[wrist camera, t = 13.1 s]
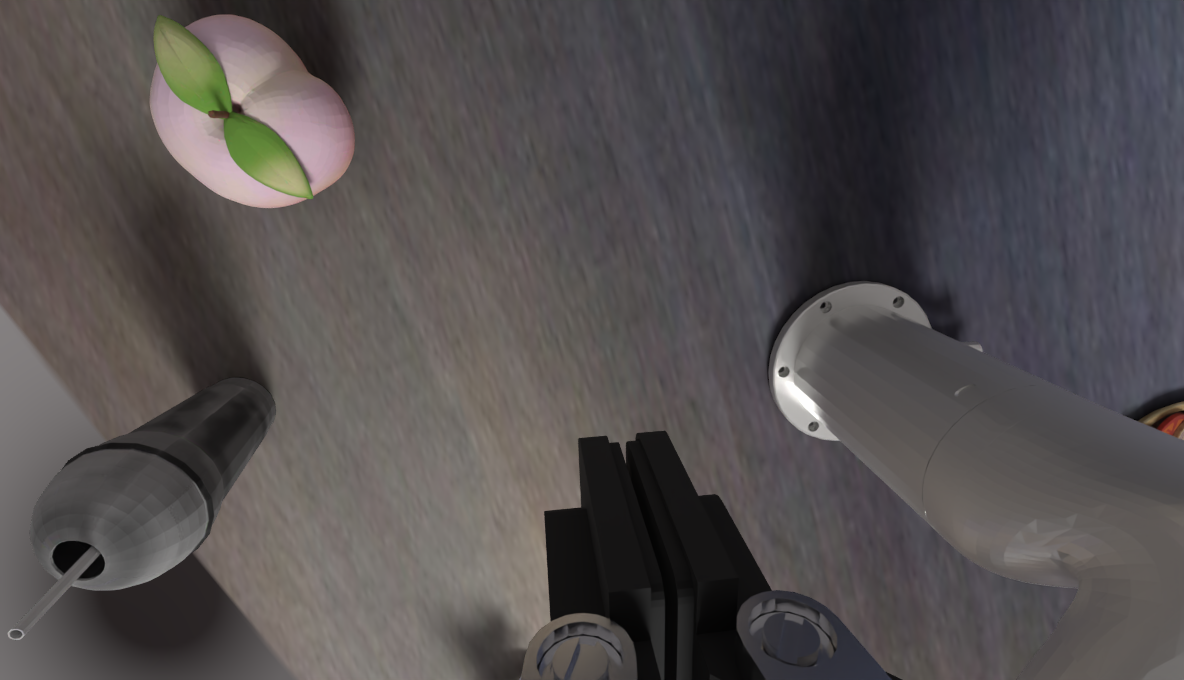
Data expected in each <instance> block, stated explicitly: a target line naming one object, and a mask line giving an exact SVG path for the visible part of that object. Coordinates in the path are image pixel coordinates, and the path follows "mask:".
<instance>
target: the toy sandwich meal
mask: <svg viewBox="0 0 1184 680" xmlns="http://www.w3.org/2000/svg"><path fill="white" fill-rule="evenodd" d="M1138 422H1140V423H1143V424H1145V425H1148V426H1150V427H1152V428H1155V429H1157V430H1160V431H1162V432H1164V433H1167V434H1169V435H1172V436H1174V437H1177V438H1179V439H1182V440H1184V401H1183V402H1179V403H1175V404H1172V405H1169V406H1166V407H1163V408H1160V409H1158V410H1156V411H1153V412H1152V413H1150V414H1148V415H1146V416H1145V417H1143V418H1141V419H1140V420H1139V421H1138Z"/></svg>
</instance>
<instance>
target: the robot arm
mask: <svg viewBox="0 0 1184 680" xmlns="http://www.w3.org/2000/svg"><path fill="white" fill-rule="evenodd" d="M822 303H823V304H822ZM821 304H822V306H821ZM820 306H821V307H820ZM780 368H781V369H780ZM779 369H780V370H779ZM768 374H769V386H770V390H771V393H772V397H773V400H774V401H775V403H776V405H777V407H778V409H779V410H780V412H781V413H782V414H783V415H784V416H785V417H786V418H787V420H788V421H789V422H791V423H792V424H793V425H794V426H795V427H796V428H797V429H799V430H800V431H802V432H804V433H806V434H807V435H810V436H813V437H816V438H820V439H823V440H833V441H841V442H842V443H843V444H844V445H845V446H846V447H847V448H848V449H850V450H851V451H852V452H853V453H854V454H855V455H856V456H857V457H858V458H859V459H860V460H861V461H862V462H863V463H864V464H866V465H867V466H868V467H869V468H870V469H871V470H872V471H873V472H874V473H875V474H876V475H877V476H878V477H879V478H880V479H881V480H883V481H884V482H885V483H886V484H887V485H888V486H889V487H890V488H891V489H892V490H893V491H894V492H895V493H896V494H897V495H899V496H900V497H901V498H902V499H903V500H904V501H905V502H906V503H907V504H908V505H909V506H910V507H911V508H912V509H913V510H915V511H916V512H917V513H918V514H919V515H920V516H921V517H922V518H923V519H924V520H925V521H926V522H927V523H928V524H929V525H931V526H932V527H933V528H934V529H935V530H936V531H937V532H938V533H939V534H940V535H941V536H942V537H943V538H944V539H945V540H946V541H947V542H948V543H949V544H951V545H952V546H953V547H954V548H955V549H956V550H957V551H958V552H960V553H961V554H962V555H964V556H965V557H966V558H968V559H969V560H971V561H972V562H974V563H976V564H977V565H979V566H981V567H983V568H985V569H987V570H989V571H991V572H994V573H996V574H998V575H1001V576H1004V577H1007V578H1011V579H1015V580H1019V581H1023V582H1027V583H1033V584H1040V585H1047V586H1055V587H1066V588H1078V592H1077V594H1076V597H1075V599H1074V600H1073V602H1072V603H1071V605H1070V606H1069V608H1068V609H1067V611H1066V612H1065V614H1064V615H1063V616H1062V618H1061V619H1060V620H1059V622H1058V625H1057V627H1056V629H1055V630H1054V631H1053V633H1052V634H1051V635H1050V636H1049V638H1048V639H1047V640H1046V642H1045V643H1044V644H1043V645H1042V647H1041V648H1040V649H1039V651H1038V652H1037V653H1036V654H1035V656H1034V657H1033V658H1032V659H1031V661H1030V662H1029V663H1028V665H1027V666H1026V667H1025V668H1024V670H1023V671H1022V672H1021V674H1020V675H1019V676H1018V677H1017V679H1016V680H1184V440H1182V439H1179V438H1177V437H1174V436H1172V435H1169V434H1167V433H1164V432H1162V431H1160V430H1157V429H1155V428H1152V427H1150V426H1148V425H1145V424H1143V423H1140V422H1138V421H1136V420H1133V419H1131V418H1128V417H1126V416H1124V415H1121V414H1119V413H1116V412H1114V411H1112V410H1109V409H1107V408H1105V407H1103V406H1100V405H1098V404H1096V403H1094V402H1091V401H1089V400H1087V399H1085V398H1082V397H1080V396H1078V395H1076V394H1074V393H1071V392H1069V391H1067V390H1065V389H1063V388H1060V387H1058V386H1056V385H1054V384H1052V383H1049V382H1047V381H1045V380H1043V379H1041V378H1039V377H1036V376H1034V375H1032V374H1030V373H1028V372H1025V371H1023V370H1021V369H1019V368H1017V367H1014V366H1012V365H1010V364H1008V363H1006V362H1003V361H1001V360H999V359H997V358H995V357H992V356H990V355H988V354H986V353H984V352H982V348H981V345H980V344H979V343H978V342H974V341H972V342H959V341H957V340H955V339H953V338H951V337H948V336H946V335H944V334H942V333H940V332H937V331H935V330H933V329H932V327H931V325H930V323H929V320H928V318H927V315H926V314H925V312H924V311H923V309H922V308H921V307H920V305H919V304H918V303H917V302H916V301H915V300H914V299H912V298H911V297H910V296H909V295H908V294H906V293H904V292H902V291H900V290H898V289H896V288H894V287H891V286H888V285H885V284H883V283H878V282H871V281H856V282H848V283H844V284H840V285H836V286H833V287H831V288H829V289H827V290H824V291H822V292H820V293H818V294H817V295H815V296H814V297H812V298H811V299H809V300H808V301H806V302H805V303H804V304H803V305H802V306H801V307H800V308H799V309H797V310H796V311H795V312H794V313H793V314H792V316H791V317H790V318H789V320H788V321H787V322H786V323H785V325H784V326H783V327H782V329H781V331H780V333H779V335H778V337H777V339H776V341H775V343H774V346H773V349H772V353H771V356H770V362H769V370H768ZM578 448H579V469H580V490H581V508H571V509H561V510H551V511H544V515H545V533H546V550H547V567H548V584H549V601H550V618H551V622H550V623H548V624H547V625H545V626H544V627H543V628H541V629H540V630H539V631H538V632H537V633H536V635H535V636H534V637H533V639H532V640H531V641H530V643H529V646H528V649H527V651H526V654H525V658H524V663H523V669H522V675H521V680H902V679H900V678H898V677H896V676H893V675H891V674H889V673H887V672H885V671H884V670H883V669H882V668H881V666H880V665H879V664H878V663H877V662H876V661H875V660H874V658H873V657H872V656H871V655H870V654H869V653H868V651H867V650H866V649H865V648H864V647H863V646H862V645H861V643H860V642H859V641H858V640H857V639H856V638H855V636H854V635H853V634H852V633H851V632H850V631H849V630H848V628H847V627H846V626H845V625H844V624H843V623H842V622H841V620H840V619H839V618H838V617H837V616H836V615H835V614H834V613H832V612H831V611H830V610H829V609H828V608H827V607H826V606H824V605H822V604H821V603H819V602H817V601H815V600H814V599H812V598H810V597H807V596H804V595H801V594H798V593H795V592H788V591H780V590H776V591H772V590H771V588H770V586H769V585H768V583H767V581H766V579H765V577H764V576H763V574H762V572H761V570H760V568H759V567H758V565H757V563H756V561H755V559H754V558H753V556H752V554H751V552H750V550H749V549H748V547H747V545H746V543H745V541H744V540H743V538H742V536H741V534H740V532H739V531H738V529H737V527H736V525H735V524H734V522H733V520H732V518H731V516H730V515H729V513H728V511H727V509H726V507H725V506H724V504H723V502H722V500H721V499H720V498H719V496H718V495H715V494H713V495H703V496H698V494H697V492H696V490H695V488H694V486H693V484H692V482H691V480H690V478H689V476H688V474H687V472H686V470H685V468H684V466H683V464H682V462H681V460H680V458H679V456H678V454H677V452H676V450H675V448H674V446H673V444H672V442H671V440H670V438H669V436H668V434H667V432H666V431H656V432H644V433H637V434H636V441H627V443H626V463H625V460H624V457H623V454H622V451H621V448H620V444H619V442H616V443H609V440H608V437H607V436H598V437H587V438H579V439H578Z"/></svg>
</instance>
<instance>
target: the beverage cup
mask: <svg viewBox="0 0 1184 680" xmlns="http://www.w3.org/2000/svg"><path fill="white" fill-rule="evenodd" d="M275 415H276V408H275V403H274V400H273V398H272V396H271V394H270V393H269V392H268V391H267V390H266V389H265V388H264V387H263V386H261V385H260V384H258V383H256V382H255V381H252V380H249V379H245V378H228V379H224V380H221V381H220V382H218V383H217V384H214V385H213V386H210V387H207V388H205V389H204V390H202V391H200V392H199V393H197V394H195V395H193V396H192V397H190V398H188V399H187V400H185V401H183V402H181V403H180V404H178V405H176V406H175V407H173V408H171V409H170V410H168V411H166V412H164V413H163V414H161V415H159V416H158V417H156V418H154V419H152V420H151V421H149V422H147V423H146V424H144V425H142V426H140V427H139V428H137V429H135V430H134V431H132V432H130V433H129V434H126V435H122V436H119V437H116V438H114V439H112V440H109V441H107V442H104V443H102V444H100V445H99V446H95V447H91V448H87V449H85V450H84V451H83V452H81V453H79V454H78V455H76V456H74V457H73V458H71V459H70V460H68V462H67V463H66V464H65V466H64V467H63V468H62V470H61V471H60V472H59V473H58V474H57V475H56V476H55V477H54V478H53V480H52V481H51V482H50V483H49V485H48V486H47V487H46V489H45V491H44V492H43V493H42V494H41V496H40V498H39V499H38V501H37V503H36V505H35V507H34V511H33V515H32V520H31V527H30V540H31V544H32V548H33V552H34V555H35V556H36V557H37V559H38V561H39V562H40V563H41V565H42V566H43V568H44V569H45V570H46V571H47V572H48V573H50V574H51V575H52V576H53V577H55V578H56V579H57V580H58V582H57V583H56V584H55V585H54V586H53V587H52V588H51V589H50V590H49V591H48V592H47V593H46V594H45V595H44V596H43V597H42V598H41V599H40V600H39V601H38V602H37V603H36V605H34V606H33V607H32V608H31V610H29V611H28V613H27V614H26V615H25V616H24V617H23V618H22V619H21V620H20V621H19V622H18V623H17V624H16V625H15V626H14V627H13V628H12V629H11V630H10V631H9V632H8V636H9V638H11V639H13V640H19V639H22V637H23V636H24V635H25V634H26V633H27V632H28V631H29V630H30V629H31V628H32V627H33V626H34V625H35V624H36V622H37V621H38V620H39V619H40V618H41V617H42V616H43V615H44V614H45V613H46V612H47V611H48V610H49V608H50V607H51V606H52V605H53V604H54V603H55V602H56V601H57V600H58V599H59V598H60V597H61V596H62V594H64V593H65V591H66V590H67V589H68V588H69V587H70V586H74V587H79V588H83V589H88V590H116V589H122V588H126V587H130V586H134V585H138V584H141V583H144V582H147V581H150V580H152V579H154V578H156V577H158V576H159V575H161V574H163V573H164V572H166V571H168V570H169V569H171V568H173V567H174V566H176V565H177V564H178V563H180V562H181V561H182V560H184V559H185V558H186V557H187V556H188V555H189V554H191V553H192V552H194V551H195V550H197V549H198V548H199V547H200V545H201V544H202V543H203V542H204V540H205V539H206V538H207V537H208V535H209V534H210V531H211V527H212V524H213V523H214V521H215V519H216V517H217V514H218V512H219V510H220V507H221V504H222V501H223V499H224V498H225V496H226V495H227V493H228V492H229V490H230V489H231V487H232V486H233V484H234V483H235V481H236V480H237V478H238V477H239V475H240V474H241V472H242V471H243V469H244V468H245V466H246V465H247V463H248V461H249V460H250V458H251V457H252V455H253V454H254V452H255V451H256V449H257V448H258V446H259V445H260V443H261V442H262V440H263V439H264V437H265V436H266V434H267V432H268V429H269V427H270V425H271V424H272V423H273V422H274V418H275Z"/></svg>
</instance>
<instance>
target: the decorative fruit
mask: <svg viewBox="0 0 1184 680" xmlns="http://www.w3.org/2000/svg"><path fill="white" fill-rule="evenodd" d="M154 49H155V54H156V59H157V65H156V68H155V72H154V75H153V80H152V84H151V90H150V108H151V113H152V118H153V121H154V124H155V127H156V129H157V131H158V134H159V136H160V137H161V139H162V141H163V143H164V144H165V146H166V147H167V149H168V151H169V152H170V153H171V154H172V156H173V157H174V158H175V159H176V160H177V161H178V162H179V163H180V164H181V165H182V166H183V167H184V168H185V169H186V170H187V171H188V172H189V173H191V174H192V175H193V176H194V177H195V178H197V179H198V180H199V181H200V182H201V183H203V184H204V185H205V186H207V187H208V188H209V189H211V190H212V191H214V192H215V193H217V194H219V195H221V196H223V197H225V198H227V199H230V200H233V201H235V202H238V203H241V204H245V205H249V206H253V207H259V208H278V207H284V206H289V205H292V204H296V203H298V202H301V201H303V200H305V199H313V195H315V194H317V193H319V192H320V191H322V190H324V189H325V188H327V187H329V186H330V185H332V184H333V183H334V182H336V181H337V180H338V179H339V178H340V177H341V176H342V175H343V174H344V172H345V171H346V170H347V168H348V166H349V164H350V162H351V160H352V157H353V153H354V148H355V134H354V127H353V123H352V120H351V117H350V114H349V112H348V110H347V108H346V106H345V104H344V103H343V101H342V99H341V98H340V96H339V95H338V94H337V93H336V92H335V91H334V90H333V89H332V87H330V86H329V85H328V84H327V83H325V82H324V81H323V80H321V79H319V78H317V77H314V76H313V75H311V74H310V73H309V72H308V71H307V69H306V68H305V66H304V64H303V63H302V61H301V59H300V58H299V57H298V56H297V54H296V53H295V52H294V51H293V50H292V48H291V47H290V46H289V45H288V44H287V43H286V42H285V41H284V40H283V39H282V38H280V37H279V36H278V35H277V34H275V33H274V32H273V31H271V30H270V29H268V28H267V27H265V26H263V25H262V24H259V23H257V22H255V21H253V20H251V19H248V18H245V17H241V16H236V15H213V16H209V17H206V18H202V19H200V20H197V21H195V22H193V23H191V24H190V25H188V26H186V27H185V28H184V27H183V26H182V25H180V24H179V23H177V22H175V21H173V20H171V19H169V18H166V17H164V16H162V15H159V16H158V17H157V21H156V24H155V28H154Z"/></svg>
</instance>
